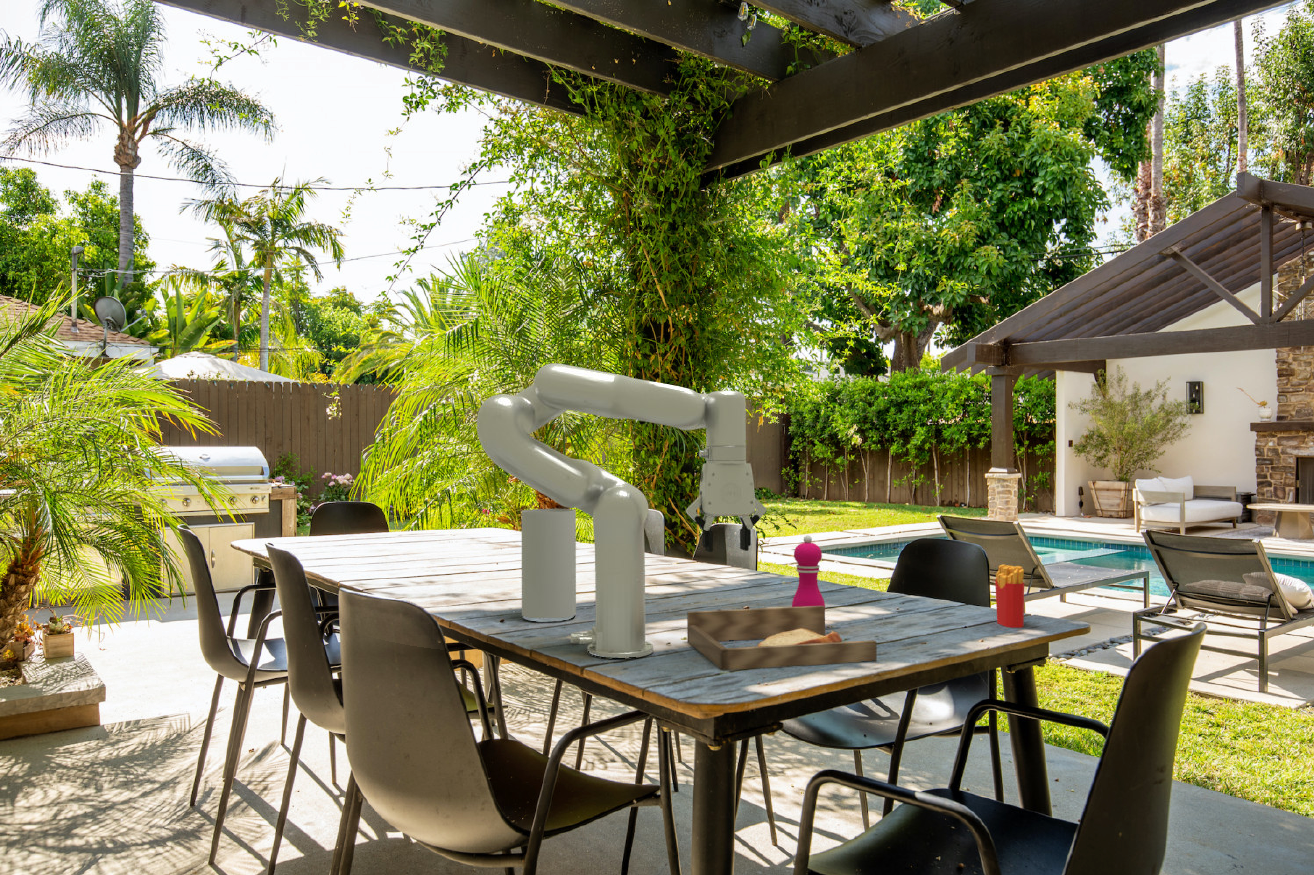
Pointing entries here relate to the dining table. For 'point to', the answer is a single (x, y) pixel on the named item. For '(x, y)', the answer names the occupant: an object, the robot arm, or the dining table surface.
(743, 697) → the dining table surface
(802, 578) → the pepper mill
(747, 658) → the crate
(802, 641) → the bread slice
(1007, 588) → the french fries
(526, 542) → the cylinder vase
